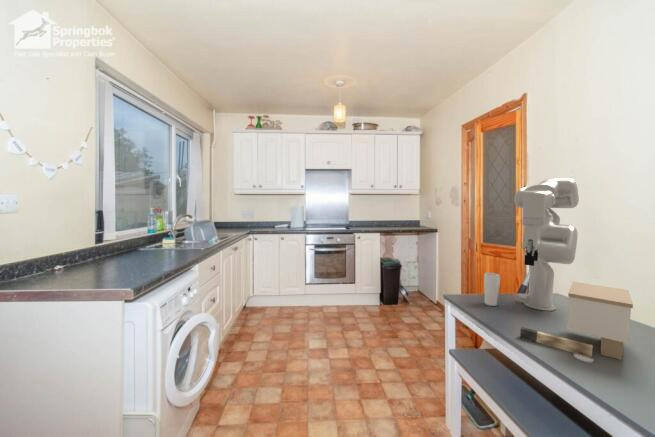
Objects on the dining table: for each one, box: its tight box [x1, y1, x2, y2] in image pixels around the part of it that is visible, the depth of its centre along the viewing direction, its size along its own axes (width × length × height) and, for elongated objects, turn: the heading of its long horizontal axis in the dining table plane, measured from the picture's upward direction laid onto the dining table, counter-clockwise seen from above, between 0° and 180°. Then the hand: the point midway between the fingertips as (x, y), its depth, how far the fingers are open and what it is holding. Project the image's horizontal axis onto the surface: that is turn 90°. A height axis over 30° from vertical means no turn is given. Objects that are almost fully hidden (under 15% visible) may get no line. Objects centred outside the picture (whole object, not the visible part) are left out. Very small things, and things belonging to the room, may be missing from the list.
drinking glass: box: [483, 272, 501, 307], centre depth 146 cm, size 7×7×15 cm
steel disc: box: [572, 352, 595, 363], centre depth 97 cm, size 5×5×1 cm
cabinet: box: [566, 281, 634, 360], centre depth 106 cm, size 16×21×19 cm
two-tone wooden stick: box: [519, 326, 593, 357], centre depth 105 cm, size 20×2×4 cm, turn 48°
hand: (531, 262), depth 124 cm, fingers open, 9 cm apart
